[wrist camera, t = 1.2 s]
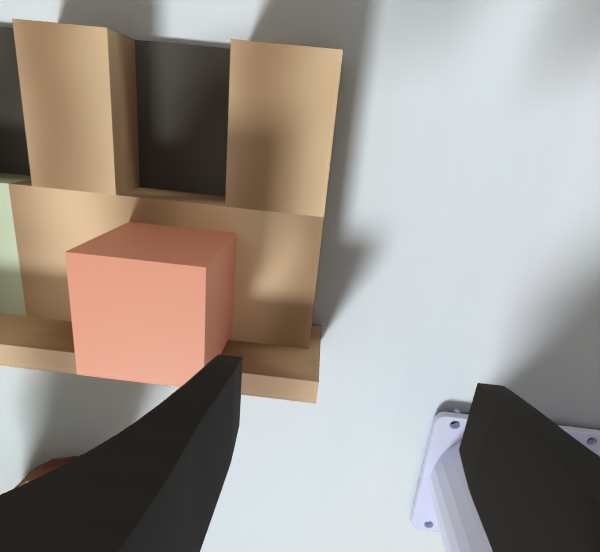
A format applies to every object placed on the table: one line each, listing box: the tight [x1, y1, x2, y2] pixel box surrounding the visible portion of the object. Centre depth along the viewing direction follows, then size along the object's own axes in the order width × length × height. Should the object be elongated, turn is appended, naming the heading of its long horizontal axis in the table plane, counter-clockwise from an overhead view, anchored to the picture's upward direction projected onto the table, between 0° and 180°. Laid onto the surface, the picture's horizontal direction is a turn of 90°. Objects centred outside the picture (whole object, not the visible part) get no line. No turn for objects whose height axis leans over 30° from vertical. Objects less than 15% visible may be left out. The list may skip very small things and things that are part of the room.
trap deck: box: [0, 19, 343, 403], centre depth 17 cm, size 20×13×5 cm, turn 85°
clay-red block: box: [65, 222, 236, 387], centre depth 16 cm, size 4×4×4 cm
